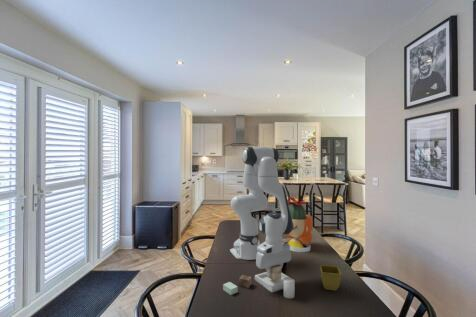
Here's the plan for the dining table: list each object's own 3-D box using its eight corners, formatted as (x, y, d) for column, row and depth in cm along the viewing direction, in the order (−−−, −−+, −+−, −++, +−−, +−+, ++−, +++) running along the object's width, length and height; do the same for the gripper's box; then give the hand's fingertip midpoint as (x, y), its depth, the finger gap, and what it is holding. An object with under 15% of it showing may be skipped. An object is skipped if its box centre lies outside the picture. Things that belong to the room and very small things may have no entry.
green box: (223, 290, 119) (223, 284, 119) (229, 288, 121) (229, 281, 121) (230, 296, 114) (230, 289, 114) (237, 293, 116) (237, 286, 116)
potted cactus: (298, 255, 162) (299, 201, 162) (275, 245, 181) (276, 196, 181) (320, 249, 174) (321, 198, 174) (297, 240, 193) (297, 194, 193)
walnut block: (239, 286, 122) (239, 278, 122) (242, 282, 126) (242, 274, 126) (248, 288, 120) (248, 280, 120) (251, 284, 124) (251, 276, 124)
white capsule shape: (281, 295, 114) (281, 279, 115) (288, 291, 117) (288, 276, 118) (289, 299, 110) (289, 283, 111) (296, 296, 113) (296, 280, 114)
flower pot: (338, 284, 124) (338, 266, 124) (341, 293, 116) (341, 274, 116) (319, 282, 126) (319, 264, 126) (321, 291, 118) (321, 272, 118)
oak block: (267, 276, 127) (267, 264, 127) (274, 274, 129) (274, 262, 129) (273, 280, 123) (273, 268, 123) (281, 278, 125) (281, 266, 125)
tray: (254, 280, 128) (254, 275, 128) (275, 273, 136) (275, 269, 136) (271, 292, 116) (271, 287, 116) (294, 284, 124) (294, 279, 124)
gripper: (285, 240, 134) (285, 266, 134) (254, 247, 124) (254, 275, 124) (293, 244, 129) (293, 270, 129) (261, 251, 118) (261, 280, 118)
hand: (274, 273), depth 126 cm, fingers closed on oak block, 5 cm apart
